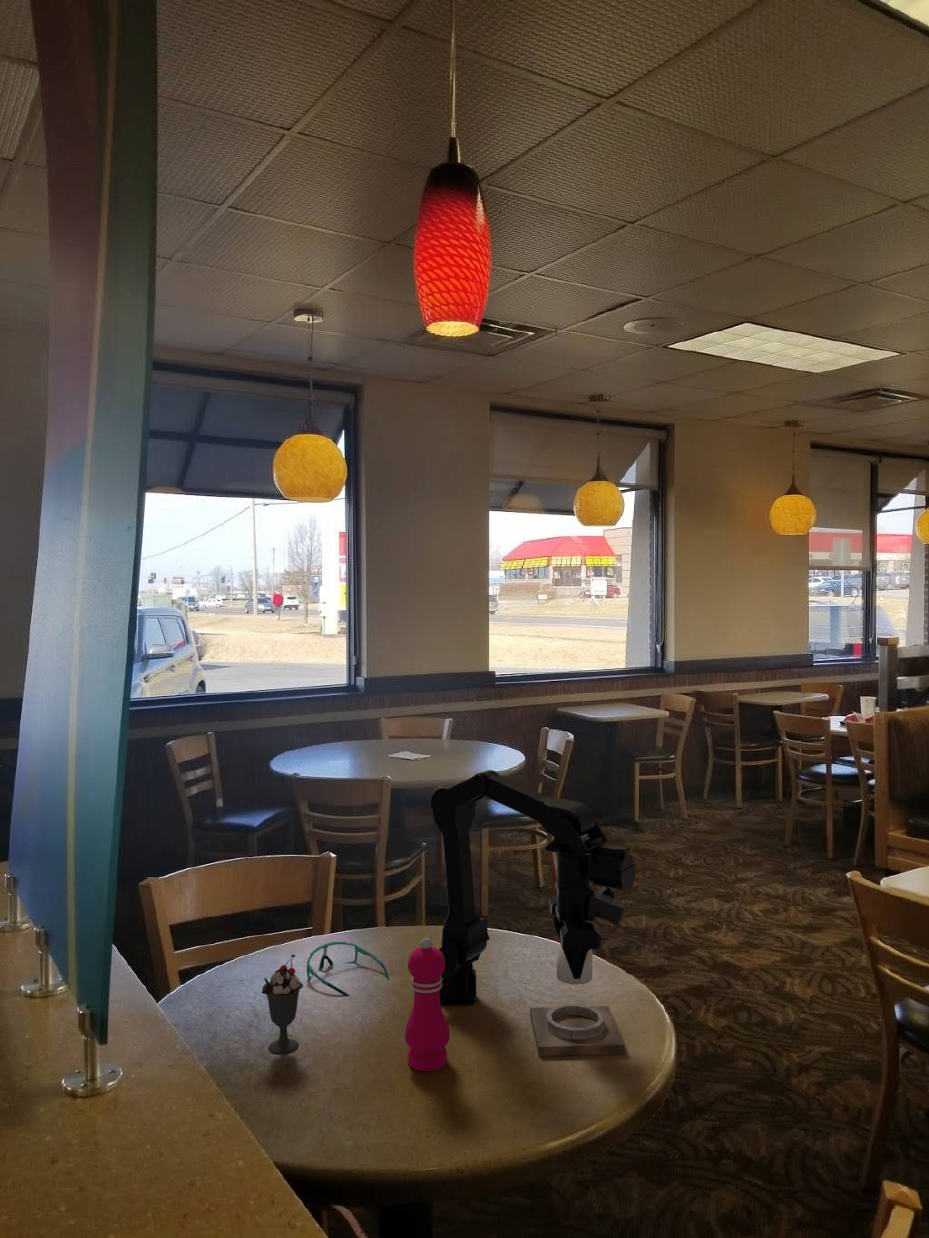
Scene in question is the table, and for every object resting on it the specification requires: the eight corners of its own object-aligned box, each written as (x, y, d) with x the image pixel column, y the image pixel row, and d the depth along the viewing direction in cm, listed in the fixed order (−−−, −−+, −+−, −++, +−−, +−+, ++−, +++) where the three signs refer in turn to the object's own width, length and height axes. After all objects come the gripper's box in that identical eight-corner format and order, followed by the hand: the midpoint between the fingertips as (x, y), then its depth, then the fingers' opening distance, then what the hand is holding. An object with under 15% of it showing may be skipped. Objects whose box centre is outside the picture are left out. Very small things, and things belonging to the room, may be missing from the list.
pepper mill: (416, 1077, 140) (414, 949, 139) (397, 1057, 146) (396, 934, 146) (457, 1066, 143) (456, 941, 143) (438, 1046, 149) (436, 926, 149)
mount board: (538, 1055, 146) (538, 1037, 146) (530, 1016, 160) (529, 999, 160) (624, 1053, 146) (624, 1035, 146) (608, 1014, 160) (608, 997, 160)
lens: (559, 984, 150) (559, 954, 150) (554, 969, 156) (554, 940, 156) (595, 984, 150) (594, 953, 150) (589, 969, 156) (589, 939, 156)
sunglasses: (349, 957, 188) (351, 934, 187) (397, 985, 178) (398, 961, 177) (293, 977, 178) (295, 953, 177) (340, 1008, 168) (342, 983, 167)
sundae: (311, 1040, 152) (310, 952, 152) (291, 1059, 146) (289, 967, 145) (277, 1034, 154) (275, 947, 154) (255, 1053, 148) (254, 962, 147)
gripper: (632, 896, 143) (633, 993, 144) (610, 862, 162) (611, 948, 162) (562, 898, 143) (563, 995, 143) (549, 863, 162) (549, 949, 162)
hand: (574, 970), depth 153 cm, fingers closed on lens, 6 cm apart
